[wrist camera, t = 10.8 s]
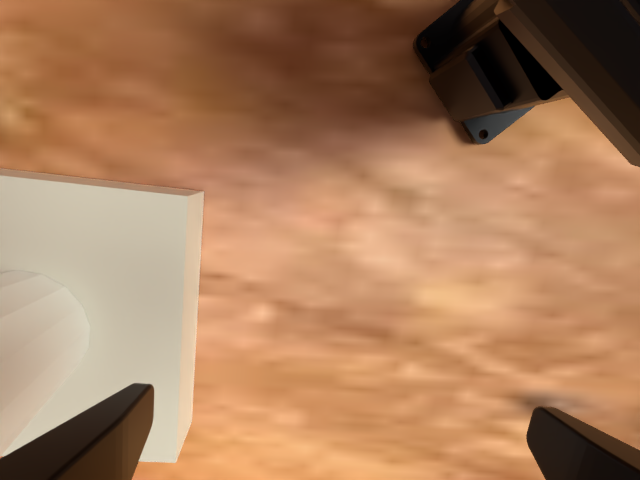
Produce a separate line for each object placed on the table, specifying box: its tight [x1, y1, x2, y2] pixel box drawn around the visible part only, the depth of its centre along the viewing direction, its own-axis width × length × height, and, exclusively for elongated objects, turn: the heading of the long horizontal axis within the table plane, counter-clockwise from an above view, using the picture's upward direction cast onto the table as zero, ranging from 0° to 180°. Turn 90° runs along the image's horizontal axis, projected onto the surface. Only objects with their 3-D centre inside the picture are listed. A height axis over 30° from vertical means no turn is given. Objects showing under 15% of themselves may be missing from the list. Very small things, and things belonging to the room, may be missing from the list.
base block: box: [0, 168, 204, 463], centre depth 18 cm, size 14×14×3 cm
